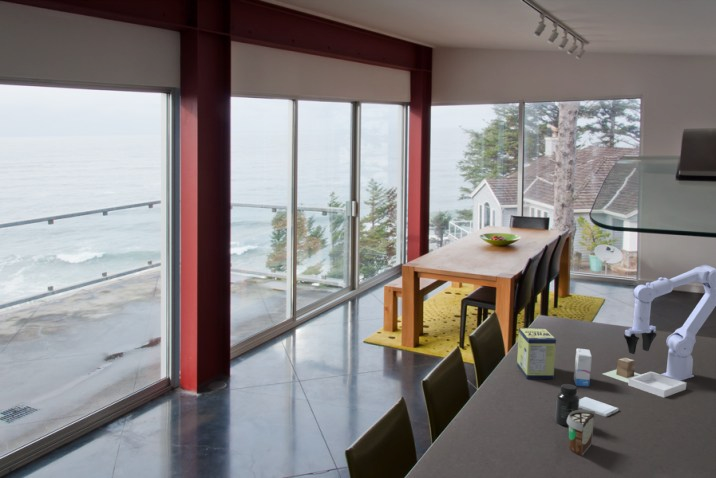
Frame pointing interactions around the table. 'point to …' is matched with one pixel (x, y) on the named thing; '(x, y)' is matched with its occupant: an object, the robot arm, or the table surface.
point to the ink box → (582, 367)
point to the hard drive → (597, 406)
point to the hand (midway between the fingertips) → (638, 351)
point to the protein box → (536, 353)
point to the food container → (580, 430)
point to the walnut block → (625, 367)
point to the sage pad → (613, 375)
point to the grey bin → (657, 384)
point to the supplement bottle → (566, 403)
